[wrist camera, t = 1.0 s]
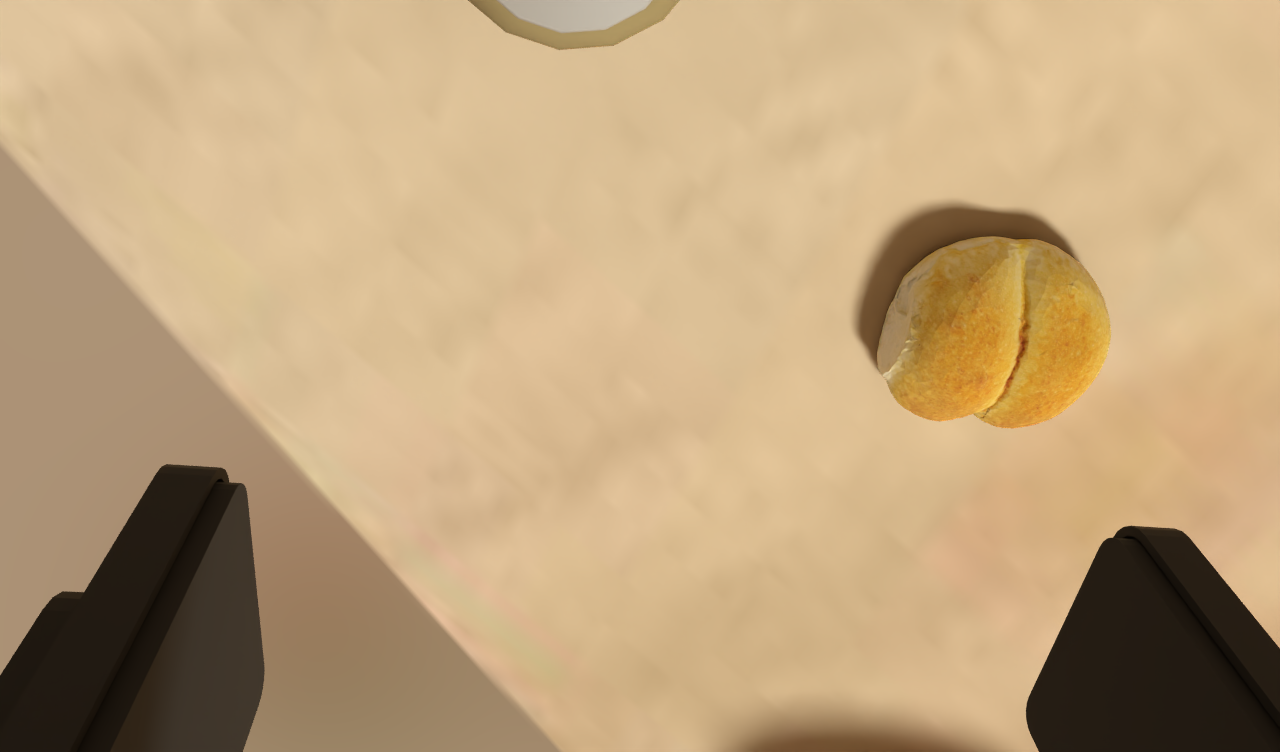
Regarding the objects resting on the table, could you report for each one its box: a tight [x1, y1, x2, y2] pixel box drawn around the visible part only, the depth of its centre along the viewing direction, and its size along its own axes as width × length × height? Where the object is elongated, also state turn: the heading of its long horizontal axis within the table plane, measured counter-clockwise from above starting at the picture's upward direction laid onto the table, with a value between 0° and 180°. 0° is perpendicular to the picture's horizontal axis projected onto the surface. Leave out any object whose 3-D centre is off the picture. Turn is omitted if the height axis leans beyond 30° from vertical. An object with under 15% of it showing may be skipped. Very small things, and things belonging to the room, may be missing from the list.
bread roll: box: [877, 236, 1111, 428], centre depth 39 cm, size 8×9×4 cm
